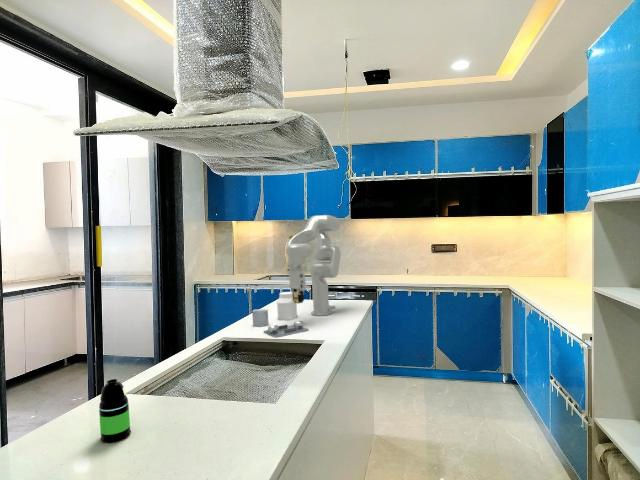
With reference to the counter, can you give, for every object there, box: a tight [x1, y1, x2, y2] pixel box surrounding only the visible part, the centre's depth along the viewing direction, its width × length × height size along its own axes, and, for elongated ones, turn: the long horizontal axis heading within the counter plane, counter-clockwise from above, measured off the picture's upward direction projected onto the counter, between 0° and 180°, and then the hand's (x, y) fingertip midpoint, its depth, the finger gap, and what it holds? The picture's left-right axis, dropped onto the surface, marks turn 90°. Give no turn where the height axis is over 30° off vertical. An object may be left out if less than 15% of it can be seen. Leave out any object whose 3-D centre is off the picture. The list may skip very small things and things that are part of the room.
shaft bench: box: [263, 320, 309, 338], centre depth 214 cm, size 19×13×4 cm
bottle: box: [98, 378, 132, 444], centre depth 110 cm, size 7×7×15 cm
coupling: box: [293, 290, 304, 304], centre depth 227 cm, size 5×5×6 cm
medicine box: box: [251, 308, 270, 327], centre depth 231 cm, size 8×4×9 cm, turn 84°
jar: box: [276, 291, 298, 321], centre depth 247 cm, size 12×10×15 cm
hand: (298, 300), depth 227 cm, fingers closed on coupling, 4 cm apart
